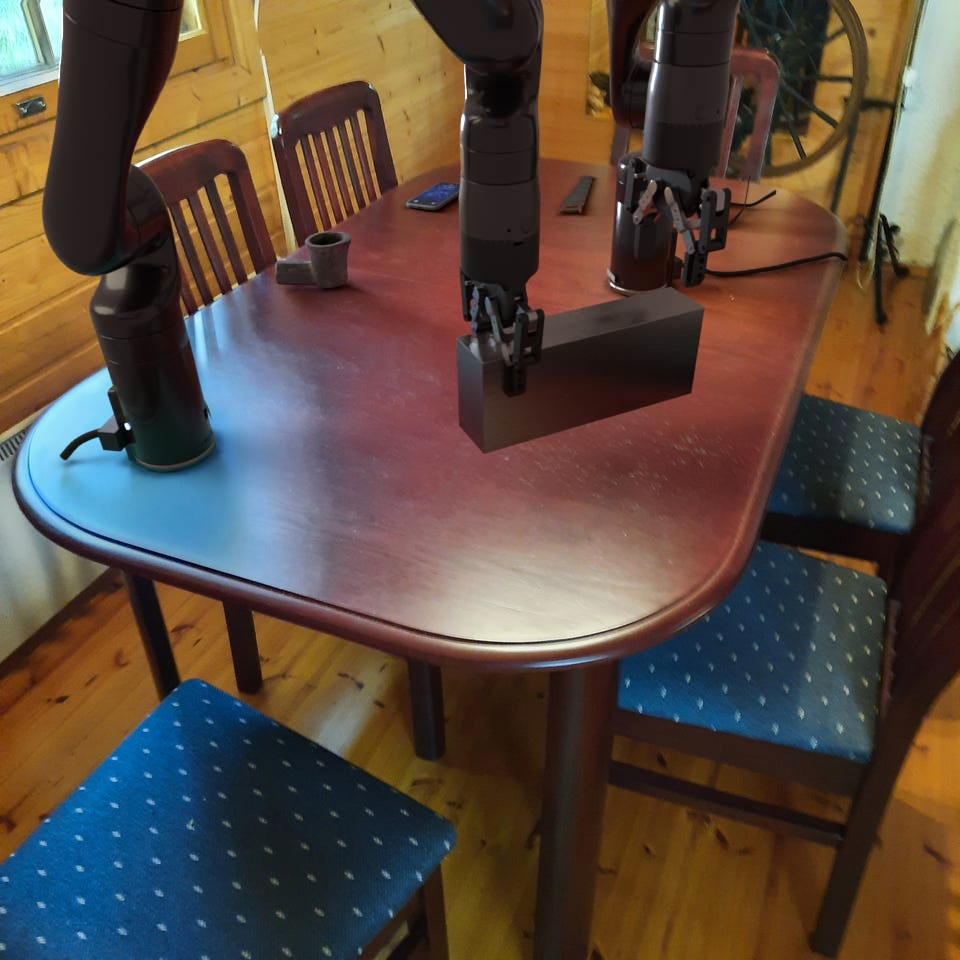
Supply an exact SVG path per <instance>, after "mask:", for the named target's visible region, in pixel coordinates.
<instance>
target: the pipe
mask: <svg viewBox="0 0 960 960" xmlns="http://www.w3.org/2000/svg"><path fill="white" fill-rule="evenodd" d="M304 243H305V246H306V249H307V253H308V257H309V260H306V261H294V260H293V261H291V260H276V261H275V268H274V271H275V282H276V284H277V285H279V286H281V285H282V286H317V287H318V286H319V287H320V288H323V289H333V288H338V287H341V286H343V285H345V284H347V282H348V280H349V274H348V258H349V257H348V256H349V251H350V246H351V243H352V237H351V236H350V235H349V234H348V233H346V232H342V231H332V230H331V231H329V230H327V231H319V232H315V233H313V234H311V235H308V237H306V239H305V240H304Z"/></svg>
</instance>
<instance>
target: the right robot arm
mask: <svg viewBox="0 0 960 960" xmlns="http://www.w3.org/2000/svg"><path fill="white" fill-rule="evenodd" d="M741 1H742V0H605V9H606V16H607V17H606V19H607V32H608V56H609V57H608V61H609V63H608V65H609V66H608V69H609V101H610V109H611V115H612V118H613V120H614V122H615V124H616V125H617V126H619V127H620V128H623V129H627V130H632V131H641V132H643V135H642V147H641V149H637V150H633V151H630V152H627V153H626V154H624V155H622V156H621V157H620V158H619V159H618V162H617V165H616V166H617V167H616V180H615V195H614V208H613V222H612V223H613V224H612V234H611V235H612V238H611V248H610V249H611V251H610V261H609V263H610V264H609V268H608V267H607V268H606V275H607V276H608V281H607V282H608V283H607V286H608V288H609V289H610V290H611V291H613V292H614V293H616V294H619V295H622V296H625V297H630V296H634V295H638V294H643V293H647V292H651V291H655V290H660V289H664V288H668V287H672V286H673V281H678V280H681V282H680V283H681V286H683V287H685V288H686V289H690V288H694V287H699V286H701V284H703V282H704V281H705V278H706V275H708V276H713V277H739V276H740V277H742V276H749V275H754V274H760V273H768V272H773V271H778V270H783V269H787V268H791V267H794V266H798V265H802V264H808V263H812V262H813V263H814V262H818V261H822V260H825V259H828V258H833V257H834V258H839V259H840V260H842V261H844V262H846V261H849V259H848V257H847V256H846V255H845V254H844V253H841V252H839V251H831V252H826V253H823V254H819V255H816V256H811V257H805V258H800V259H796V260H792V261H787V262H784V263H779V264H776V265H771V266H763V267H756V268H751V269H745V270H744V269H743V270H735V271H734V270H733V271H719V270H718V271H717V270H711V269H708V268H707V265H708V258H709V257H708V256H709V254H710V253H714V252H719V251H722V250H725V249H726V247H727V237H728V229H729V226H728V223H729V222H730V212H731V205H730V204H731V202H732V190H731V189H730V188H729V187H723V188H719V189H718V188H716V187H711V183H710V172H711V170H712V169H713V167H714V166H715V165H716V164H717V163H718V162H719V159H720V154H721V148H722V140H723V134H724V126H725V120H726V113H727V107H728V99H729V92H730V91H729V90H730V67H731V56H732V52H733V51H732V50H733V43H734V42H733V41H734V37H735V28H736V21H737V16H738V13H739V12H738V11H739V8H740V4H741ZM656 8H657V12H656V13H657V14H656V22H655V23H656V24H655V33H654V34H655V35H654V46H653V54H652V55H653V56H652V59H643V58H642V56H641V53H640V42H641V37H642V34H643V31H644V30H645V27H646V25H647V23H648V21H649V19H650V18H651V16H652V14H653V12H654V11H655V9H656ZM696 212H697V213H696ZM695 215H697V218H696V219H691V218H692V217H694V216H695ZM688 219H691V220H688ZM713 230H715V232H714V237H713V236H712V232H713ZM694 231H697V232H698V236H699V237H698V240H697V239H696V236H695V233H694ZM679 234H680V235H682V240H683V242H684V245H685V249H686V251H685V252H684V256H683V257H684V259H683V258H681V257H679V256H677V255H676V252H677V245H678V238H679V237H678V235H679Z"/></svg>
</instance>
